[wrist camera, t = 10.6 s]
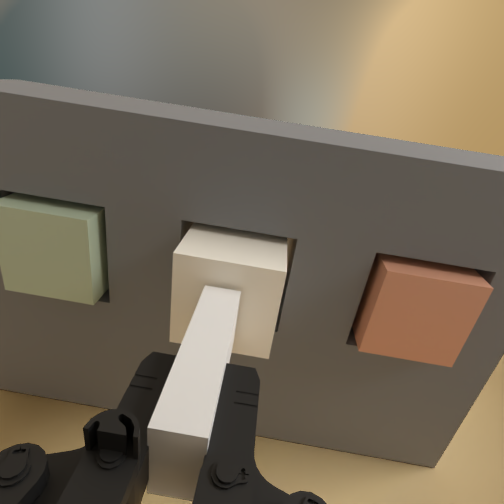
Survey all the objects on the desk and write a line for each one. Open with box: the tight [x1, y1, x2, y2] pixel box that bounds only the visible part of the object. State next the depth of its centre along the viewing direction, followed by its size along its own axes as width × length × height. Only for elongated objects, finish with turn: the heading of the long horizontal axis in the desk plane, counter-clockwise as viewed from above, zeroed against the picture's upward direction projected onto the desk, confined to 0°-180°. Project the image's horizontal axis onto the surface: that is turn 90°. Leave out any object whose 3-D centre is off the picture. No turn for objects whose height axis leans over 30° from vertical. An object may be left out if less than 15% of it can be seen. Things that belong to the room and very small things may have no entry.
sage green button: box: [0, 192, 109, 305], centre depth 19 cm, size 5×6×5 cm
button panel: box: [0, 79, 504, 468], centre depth 21 cm, size 28×6×18 cm, turn 85°
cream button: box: [169, 222, 287, 359], centre depth 17 cm, size 5×6×5 cm
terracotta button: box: [352, 252, 494, 367], centre depth 19 cm, size 5×6×5 cm
